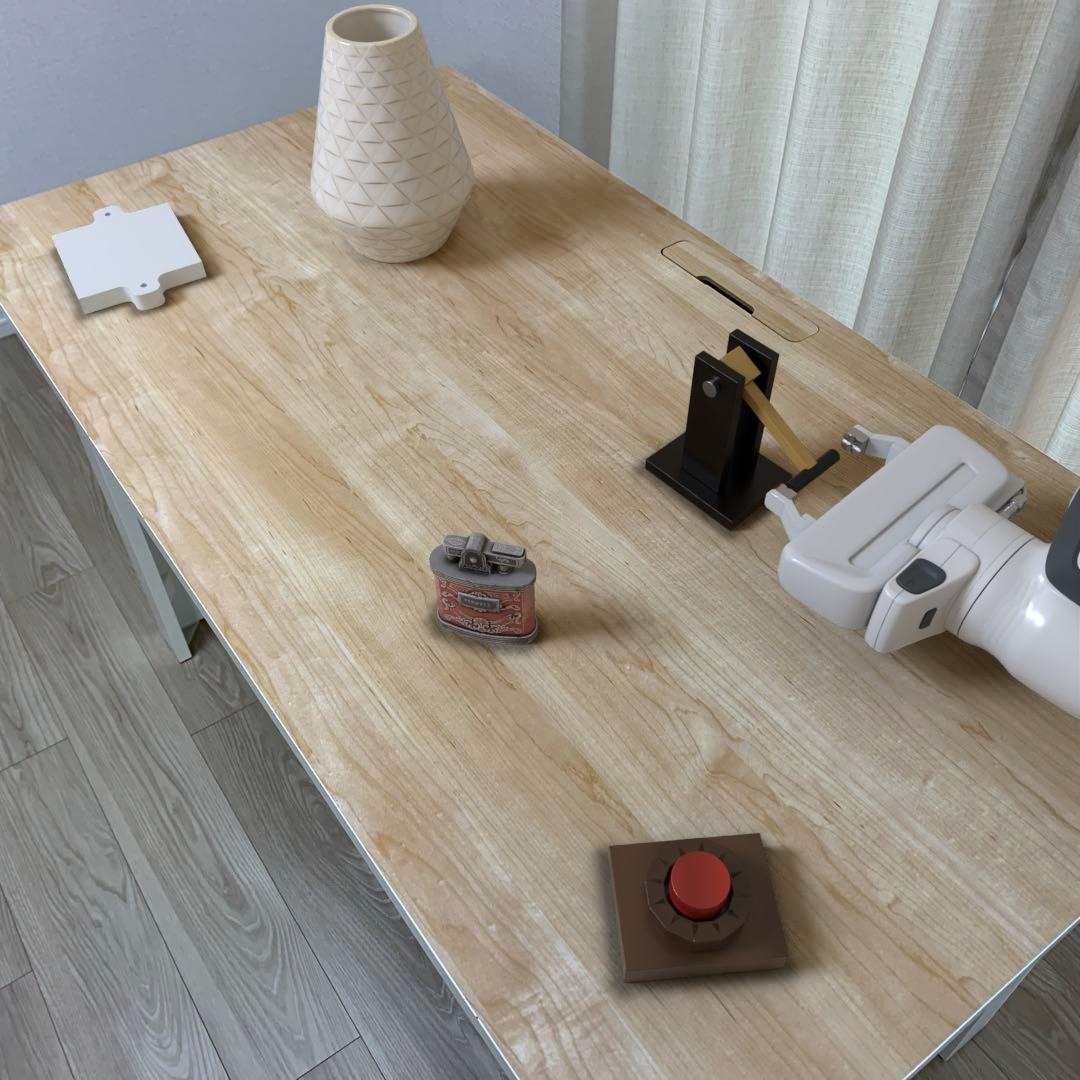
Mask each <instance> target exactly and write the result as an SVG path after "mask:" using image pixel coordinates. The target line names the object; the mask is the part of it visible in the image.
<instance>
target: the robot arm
mask: <svg viewBox="0 0 1080 1080" xmlns="http://www.w3.org/2000/svg"><path fill="white" fill-rule="evenodd" d="M840 445H841V447H842V449H843V450H844V451H846V452H850V454H851V455H852V456H854V457H855V458H856V459H859V458H860V457H862V456H863V455H866V456H872V457H875V458H879V459H883V460H885V462H884V465H883V466H881V468H880V469H878V470H876V472H874V473H872V475H870V476H869V477H868V478H867V479H866V480H864V481H863V482H861V484H859V485H858V486H856V488H854V490H852V491H851V492H850V493H848V494H847V495H846V496H845V497H843V498H842V499H841V500H840V501H839V502H837V503H836V504H834V506H832V507H831V508H830V509H828V510H827V511H826V512H825V513H824V514H822V515H821V516H820V517H819V518H817V519H816V518H815V517H814V516H812V515H810V514H809V513H804V514H802V516H801V513H800V512H799V510H798V508H797V506H796V501H797V497H798V494H799V493H796V492H795V491H793V490H792V489H789V488H787V486H786V485H785V484H783V483H780V484H778V485H777V486H776V487H774V488H773V489H772V490H770V491H769V492H768V493H767V494H766V498H765V504H764V505H765V507H766V509H768V510H769V511H770V512H772V513H773V514H774V515H777V517H778V518H780V522H781V524H782V526H783V528H784V530H785V533H786V536H787V537H788V543H786V544H785V545H784V547H783V548H782V551H781V555H780V556H779V557H780V558H779V561H778V565H777V571H776V572H777V577H778V580H779V584H780V586H781V587H782V589H784V591H786V592H787V593H788V594H789V595H791V596H792V597H793V598H794V599H796V600H797V601H798V602H800V603H801V604H802V605H804V606H805V607H807V608H808V609H810V610H811V611H812V612H814V613H815V614H817V615H819V616H820V617H822V618H823V619H825V620H826V621H828V622H830V623H832V624H834V625H836V626H837V627H839V628H842V629H845V630H850V631H860V630H864V629H866V630H865V634H864V641H865V643H866V644H867V645H868V646H869V647H870V648H871V649H873V650H874V651H876V652H878V653H880V654H883V655H885V654H891V653H893V652H896V651H898V650H900V649H903V648H905V647H907V646H909V645H912V644H915V643H916V642H921V641H922V640H925V639H927V638H931V637H934V636H937V635H939V634H943V633H944V632H946V631H948V632H949V633H951V634H953V635H954V636H956V637H957V638H958V639H959V640H961V641H963V642H964V643H966V644H969V645H972V646H975V647H978V648H979V649H982V650H983V651H985V652H987V653H989V654H990V655H991V656H993V657H994V658H995V659H996V660H997V661H999V662H1000V664H1001V665H1002V666H1003V667H1004V669H1005V670H1006V671H1007V672H1008V673H1009V674H1010V676H1012V677H1013V678H1014V679H1015V680H1017V681H1018V682H1019V683H1021V684H1022V685H1024V686H1025V687H1027V688H1028V689H1030V690H1031V691H1033V692H1034V693H1035V694H1037V695H1039V696H1040V697H1042V698H1043V699H1044V700H1046V701H1048V702H1049V703H1051V704H1052V705H1053V706H1055V707H1057V708H1059V709H1060V710H1062V711H1063V712H1065V713H1067V714H1068V715H1070V716H1072V717H1073V718H1075V719H1077V720H1079V721H1080V485H1079V486H1078V487H1077V488H1076V489H1075V491H1074V493H1073V495H1072V497H1071V498H1070V501H1069V504H1068V507H1067V510H1066V511H1065V513H1064V515H1063V517H1062V519H1061V521H1060V523H1059V525H1058V527H1057V529H1056V532H1055V534H1054V536H1053V538H1052V541H1051V542H1049V543H1047V542H1044V541H1042V540H1041V539H1040V538H1038V537H1036V536H1034V535H1033V534H1031V533H1030V532H1028V531H1026V530H1025V529H1023V528H1022V527H1020V526H1018V525H1017V524H1015V523H1014V522H1012V521H1011V520H1012V518H1013V517H1014V516H1015V515H1016V514H1019V513H1020V512H1022V511H1023V509H1025V507H1026V506H1027V505H1028V503H1029V498H1028V489H1027V487H1026V484H1025V481H1024V480H1023V479H1022V478H1021V477H1020V476H1018V475H1017V474H1015V473H1013V472H1012V471H1010V470H1008V469H1007V467H1006V466H1005V465H1004V463H1002V462H1001V460H999V458H997V457H996V456H995V455H994V454H992V453H991V452H990V451H988V450H987V448H985V447H984V446H982V445H981V444H980V443H979V442H977V441H975V440H974V439H972V438H971V437H970V436H968V435H967V434H966V433H964V432H963V431H961V430H960V429H958V428H956V427H954V426H952V425H945V424H934V425H933V426H932V427H930V428H929V429H928V430H927V431H925V432H924V433H923V434H922V435H920V436H919V437H917V439H916V440H914V441H913V442H912V443H911V442H909V441H907V440H906V439H904V438H903V437H901V436H897V435H890V434H889V435H888V434H882V433H873V432H871V431H870V430H869V429H867V428H866V427H864V426H862V425H860V424H854V426H853V427H851V428H850V429H849V430H848V431H846V432H845V433H843V436H842V440H841V444H840Z"/></svg>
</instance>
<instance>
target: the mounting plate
mask: <svg viewBox="0 0 1080 1080" xmlns="http://www.w3.org/2000/svg"><path fill="white" fill-rule="evenodd" d="M92 216H93V219H94V220H93V222H92V223H90V224H87V225H83V226H79V227H76V228H72V229H69V230H66V231H62V232H59V233H56V234H55V233H54V234H51V235H50V237H51V239H52V241H53V244H54V246H55V248H56V251H57V253H58V255H59V258H60V260H61V263H62V265H63V267H64V270H65V272H66V274H67V276H68V278H69V281H70V284H71V285H72V288H73V290H74V292H75V295H76V297H77V299H78V302H79V304H80V307H81V308H82V311H83V314H84V315H88V314H91V313H95V312H97V311H98V312H99V311H100V310H104V309H107V308H110V307H114V306H116V305H120V304H124V303H133V304H134V306H135V308H136V309H138V310H139V311H149V310H153V309H155V308H159V307H161V306H163V305H164V304H165V303H166V298H165V295H164V294H165V292H166V291H167V290H169V289H171V288H175V287H178V286H182V285H185V284H188V283H191V282H195V281H197V280H201V279H205V278H207V273H206V270H205V267H204V264H203V263H204V262H203V261H202V259H201V257H200V256H199V254H198V252H197V251H196V249H195V247H194V245H193V244H192V242H191V240H190V238H189V236H188V235H187V233H186V232H185V230H184V228H183V226H182V224H181V223H180V221H179V219H178V218H177V216H176V214H175V213H174V211H173V209H172V208H171V206H170V204H169V202H164V203H161V204H157V205H153V206H150V207H146V208H143V209H139V210H135V211H133V212H124V211H123V210H122V209H121V207H120V206H117V205H110V206H109V205H108V206H105V207H101V208H98V209H97V210H95V211H94V212H93V213H92Z"/></svg>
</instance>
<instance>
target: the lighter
mask: <svg viewBox="0 0 1080 1080" xmlns="http://www.w3.org/2000/svg"><path fill="white" fill-rule="evenodd" d="M527 555H528V553H527V548H526V547H524V546H523V545H516V544H510V543H506V542H499V541H494V540H491V539H490V538H488V537H487V536H486V535H485V534H484V533H481V532H472V533H470V535H467V536H466V535H460V534H455V533H447V534H444V537H443V539H442V544H439V545H438V546H436V547H435V548H433V550H431V553H430V554H429V558H428V562H429V568H430V571H431V573H432V574H433V580H434V585H435V592H436V598H437V606H438V607H437V611H436V614H437V620H438V624H439V625H440V627H441V628H442V629H444V630H446V631H449V632H450V633H451V632H452V633H453V634H456V635H459V636H462V637H466V638H468V639H474V640H477V641H481V642H486V643H487V642H489V643H493V644H494V643H496V644H503V645H527V644H529V643H531V642H532V641H533V640H534V639H535V638H536V636H537V635H538V632H539V631H538V630H539V623H538V619H537V616H536V595H535V593H536V590H535V588H536V587H535V583H536V582H537V566H536V564H535V563H534V561H533V560H531V559H529V558H527Z"/></svg>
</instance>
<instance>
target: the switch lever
mask: <svg viewBox="0 0 1080 1080" xmlns="http://www.w3.org/2000/svg"><path fill="white" fill-rule="evenodd" d="M718 360H719V361H721V362H723V363H724V364H726V365H727V366H729V367H730V368H732V369H734V370H735V371H737V372H738V373H740V374H741V375H743V376H744V377H746V380H745V385H744V391H743V396H742V397H743V399H744V400H745V401H746V403H747V404H748V405H749V406H750V408H751V409H752V410H753V411H754V413H755V414H756V415H757V417H758V418H759V419H760V420H761V422H762V423H763V424H764V425H765V427H764V428H766V429H767V430H768V432H769V434H770V435H771V436H772V437H773V439H775V441H776V442H777V444H778V445H779V446H780V447H781V448H782V450H783V452H784V453H785V454H786V455H787V456H788V458H789V459H790V460H791V462H793V464H794V465H795V467H796V468H797V469H798V470H799V471H798V473H797V474H795V475H793V476H792V478H791V479H790V480H789V481H787V482H786V483H785V485H786V486H787V488H789V489H792V490H793V491H795V492H796V493H798V494H799V493H800V492H801V491H802V490H804V489H805V488H807V487H808V486H809V485H811V483H813V482H814V481H815V480H817V479H818V478H819V477H820V476H822V475H823V474H825V473H826V472H828V470H830V469H831V468H833V466H834V465H836V464H837V463H838V462H840V460H841V454H840V452H839V451H838V450H837V449H835V448H829V449H828V450H826V451H825V452H824V453H822V454H821V455H820V456H819V457H817V458H816V459H815V458H814V457H813V455H812V454H811V452H810V451H809V450H808V449H807V448H806V446H805V445H804V444H803V443H802V442H801V440H800V438H799V437H797V435H796V434H795V433H794V431H793V430H792V429H791V427H790V426H789V425H788V423H787V422H786V421H785V420H784V419H783V417H782V416H781V414H780V413H779V412H778V411H777V409H776V408H775V407H774V406H773V405H772V403H771V401H770V402H769V401H768V399H767V398H766V397H765V396H764V394H763V393H762V392H761V391H760V389H759V388H758V387H757V385H756V384H755V383H754V382H753V381H754V380H755V379H756V378H757V377H758V376H759V375H760V374H761V372H760V371H759V370H758V368H757V367H756V366H755V365H754V363H753V362H752V361H751V359H750V358H749V357H748V356H747V354H746V353H745V352H744V351H743V349H742V348H741V347H740V346H738V347H737V348H735V349H734V350H732V351H731V352H729V353H728V354H726V353H725V355H723V356H722V357H720V359H718Z"/></svg>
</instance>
